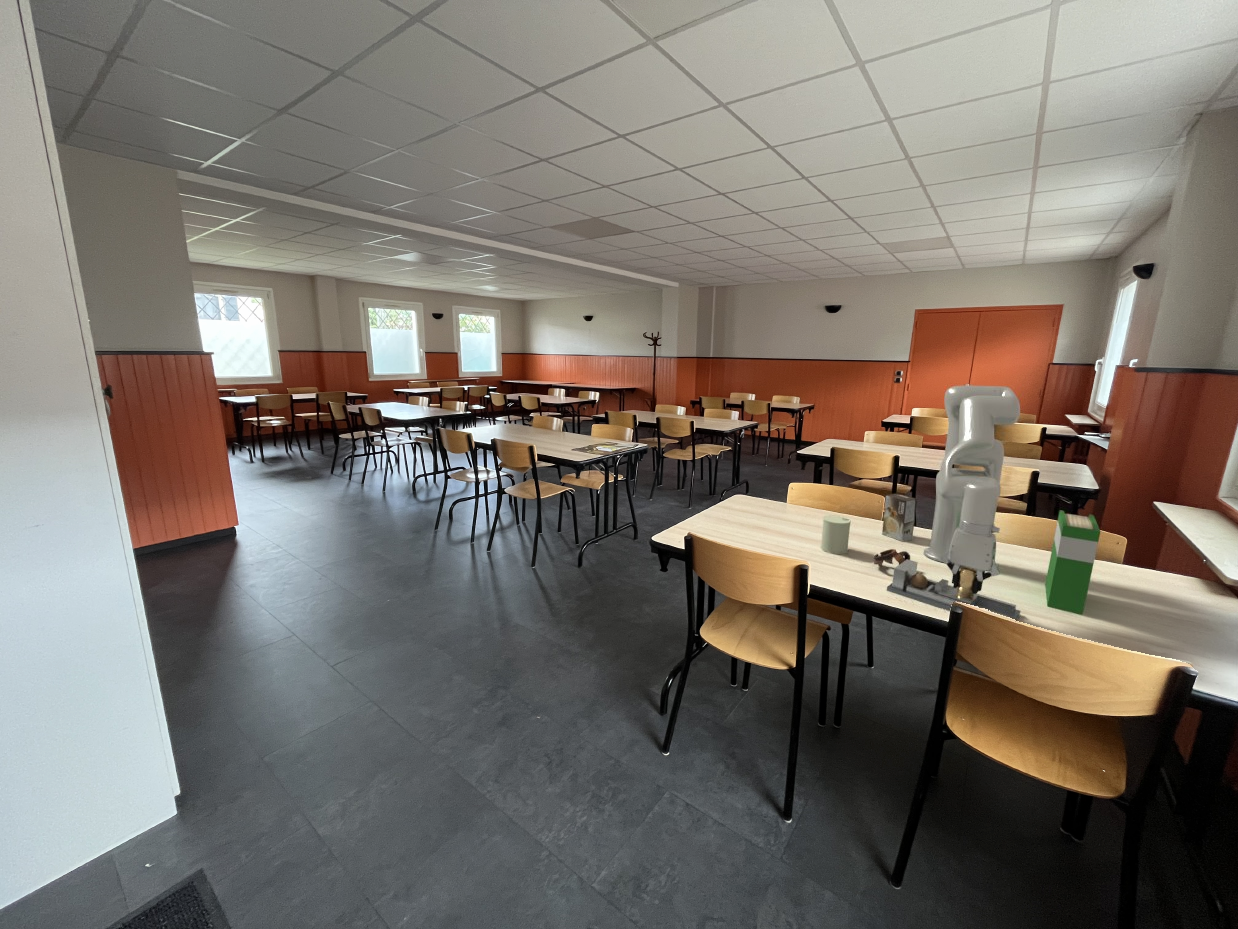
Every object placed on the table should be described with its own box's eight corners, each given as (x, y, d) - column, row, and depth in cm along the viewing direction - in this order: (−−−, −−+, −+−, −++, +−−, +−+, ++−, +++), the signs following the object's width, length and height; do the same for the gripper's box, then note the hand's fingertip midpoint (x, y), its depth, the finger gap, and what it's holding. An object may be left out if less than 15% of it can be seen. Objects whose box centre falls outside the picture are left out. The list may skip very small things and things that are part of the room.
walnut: (912, 583, 154) (914, 570, 153) (928, 588, 151) (930, 574, 150) (907, 587, 151) (909, 574, 150) (923, 592, 148) (925, 579, 147)
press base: (902, 578, 160) (904, 557, 158) (1019, 614, 138) (1024, 590, 136) (886, 590, 152) (889, 568, 151) (1008, 630, 130) (1013, 604, 129)
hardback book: (1045, 584, 156) (1059, 510, 151) (1077, 591, 152) (1093, 514, 147) (1047, 606, 143) (1063, 525, 137) (1082, 614, 138) (1100, 531, 133)
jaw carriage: (941, 589, 150) (946, 557, 147) (978, 600, 143) (983, 567, 141) (932, 597, 145) (937, 564, 143) (970, 609, 138) (976, 575, 136)
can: (852, 554, 179) (855, 522, 177) (826, 554, 180) (829, 521, 177) (841, 544, 188) (844, 514, 186) (816, 544, 189) (819, 513, 186)
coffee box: (913, 539, 194) (918, 499, 191) (902, 541, 191) (907, 501, 188) (891, 531, 202) (896, 493, 199) (880, 534, 200) (885, 494, 196)
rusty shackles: (897, 581, 159) (885, 557, 160) (875, 582, 168) (864, 559, 169) (923, 566, 163) (911, 542, 164) (900, 568, 172) (889, 545, 173)
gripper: (1017, 532, 134) (1005, 595, 138) (945, 517, 146) (936, 576, 150) (1010, 538, 129) (998, 604, 133) (936, 522, 141) (927, 583, 145)
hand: (965, 588), depth 141 cm, fingers closed on jaw carriage, 4 cm apart
